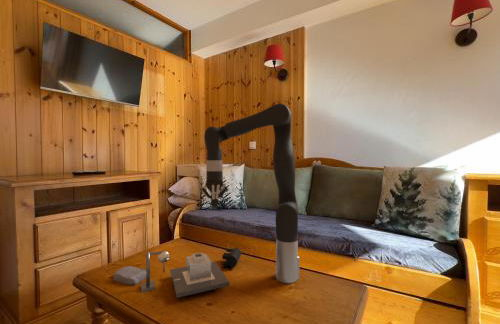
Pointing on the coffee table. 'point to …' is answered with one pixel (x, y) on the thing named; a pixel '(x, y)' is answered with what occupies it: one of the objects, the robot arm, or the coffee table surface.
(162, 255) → the dial indicator stand
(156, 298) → the coffee table surface
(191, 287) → the grey flat square slab
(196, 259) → the cover
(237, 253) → the end cap
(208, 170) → the robot arm
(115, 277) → the stone block
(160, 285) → the coffee table surface
